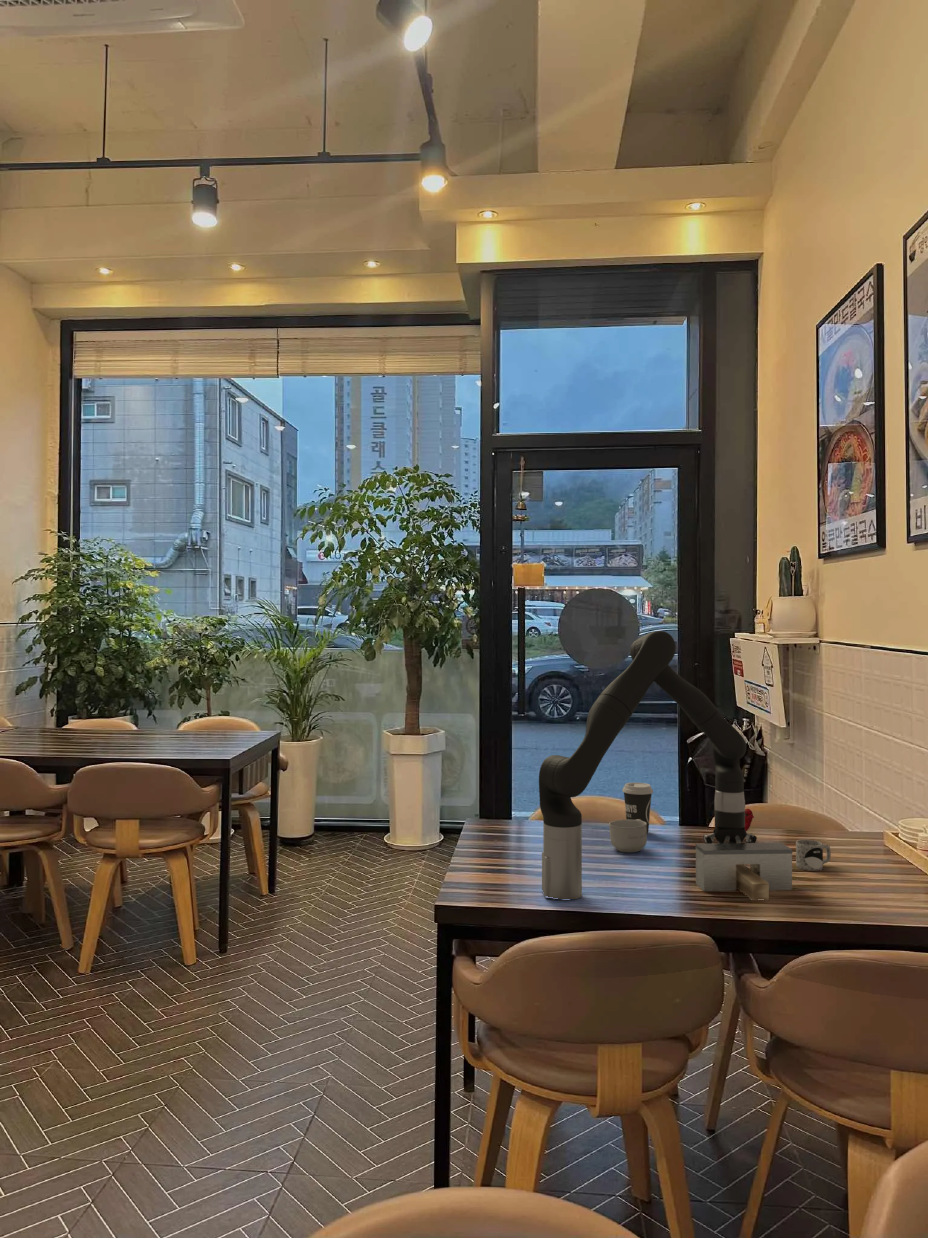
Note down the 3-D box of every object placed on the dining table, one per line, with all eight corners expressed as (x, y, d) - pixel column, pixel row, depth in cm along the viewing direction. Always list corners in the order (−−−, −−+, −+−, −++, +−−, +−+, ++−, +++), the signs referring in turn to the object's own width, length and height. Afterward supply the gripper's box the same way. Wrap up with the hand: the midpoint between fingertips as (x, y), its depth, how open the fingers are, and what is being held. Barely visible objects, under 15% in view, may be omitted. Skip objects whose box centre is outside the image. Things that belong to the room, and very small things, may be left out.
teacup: (631, 857, 228) (631, 828, 228) (601, 849, 236) (601, 822, 236) (660, 848, 237) (660, 821, 237) (630, 841, 245) (630, 814, 245)
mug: (807, 872, 214) (807, 846, 214) (790, 865, 221) (790, 840, 221) (839, 869, 217) (838, 844, 217) (821, 862, 223) (821, 838, 223)
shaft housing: (704, 891, 198) (704, 850, 198) (695, 883, 204) (695, 843, 204) (792, 890, 199) (792, 849, 199) (781, 882, 205) (780, 842, 205)
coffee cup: (630, 827, 263) (629, 780, 263) (658, 831, 257) (657, 784, 257) (617, 833, 255) (617, 785, 255) (645, 838, 249) (645, 789, 249)
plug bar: (752, 900, 191) (752, 883, 191) (718, 872, 213) (718, 857, 213) (768, 900, 192) (768, 883, 192) (733, 872, 214) (733, 857, 214)
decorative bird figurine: (750, 844, 242) (750, 810, 242) (709, 831, 258) (709, 799, 258) (758, 843, 243) (757, 810, 243) (717, 830, 259) (716, 798, 259)
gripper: (750, 804, 215) (751, 869, 215) (697, 805, 214) (698, 870, 214) (762, 811, 207) (762, 878, 207) (707, 811, 207) (708, 879, 207)
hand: (730, 873), depth 211 cm, fingers closed on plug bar, 4 cm apart
